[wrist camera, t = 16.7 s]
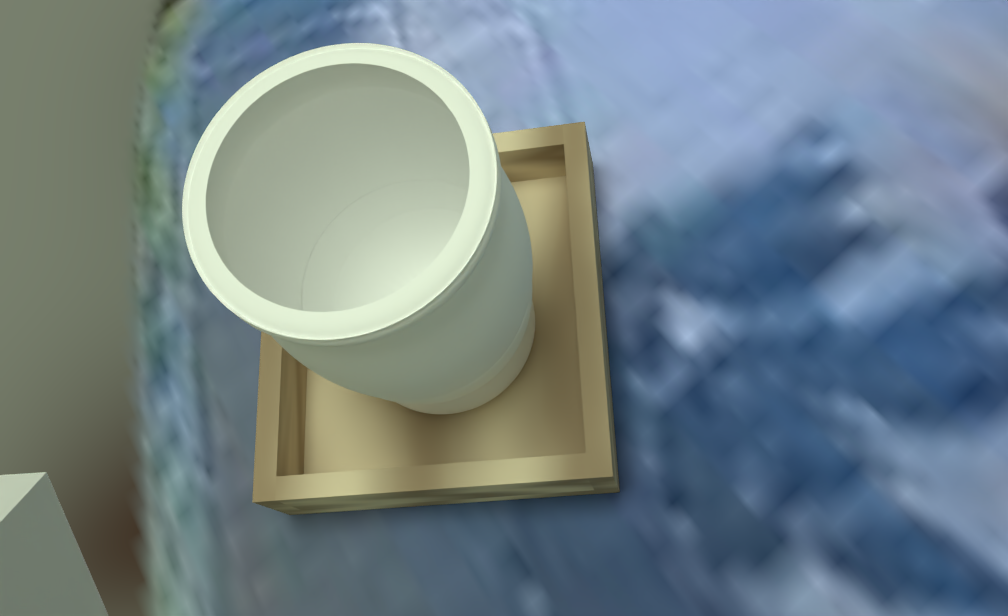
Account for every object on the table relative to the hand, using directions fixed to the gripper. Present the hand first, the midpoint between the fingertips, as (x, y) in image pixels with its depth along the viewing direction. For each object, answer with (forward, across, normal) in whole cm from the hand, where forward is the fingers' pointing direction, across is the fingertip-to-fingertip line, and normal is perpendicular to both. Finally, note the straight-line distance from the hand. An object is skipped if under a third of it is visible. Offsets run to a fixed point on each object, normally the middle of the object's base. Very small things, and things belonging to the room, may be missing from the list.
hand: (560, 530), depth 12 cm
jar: (+29, -9, -11) cm, 32 cm away
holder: (+30, -9, -12) cm, 33 cm away
